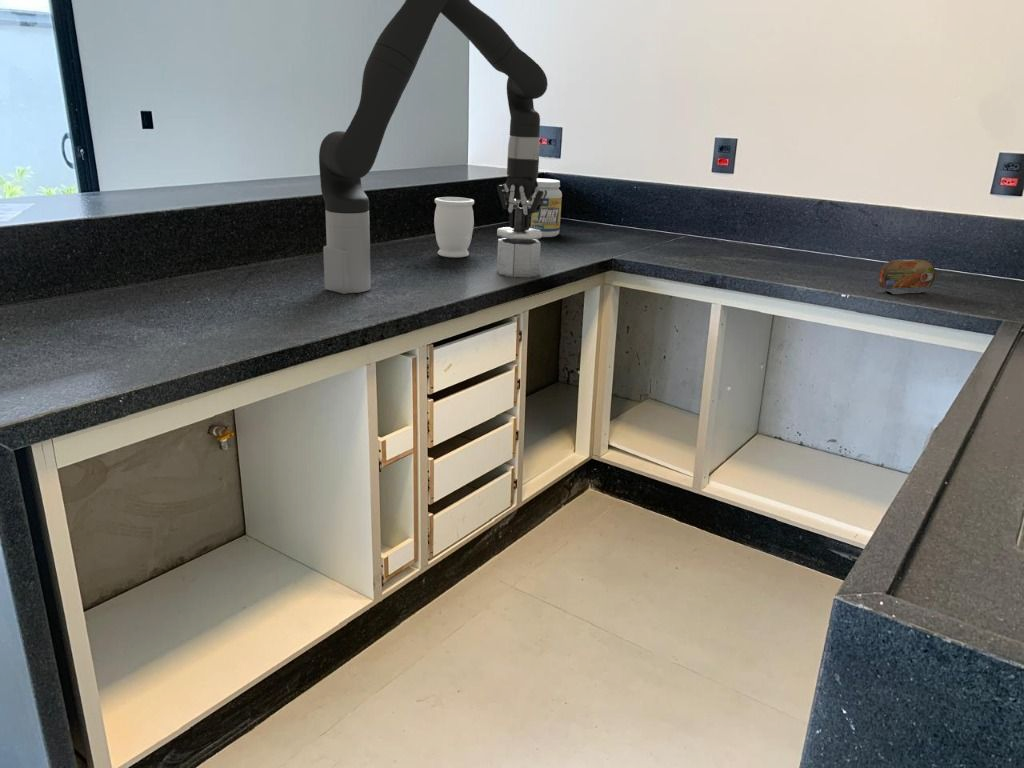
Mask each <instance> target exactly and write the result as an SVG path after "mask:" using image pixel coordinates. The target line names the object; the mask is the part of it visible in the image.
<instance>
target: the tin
mask: <svg viewBox="0 0 1024 768" xmlns="http://www.w3.org/2000/svg"><path fill="white" fill-rule="evenodd" d="M935 278H936V267H935V266H934V264H933V263H932V262H931V261H929V260H926V259H900V260H899V259H895V260H894V259H893V260H890V261H888V262H886V263H885V264H884V265H883V266H882V267H881V269H880V271H879V275H878V285H879V287H880V288H881V287H882V288H885V289H892V288H913V287H930V288H931V287H932V285H933V284H934V281H935V280H936V279H935Z"/></svg>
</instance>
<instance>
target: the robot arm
mask: <svg viewBox="0 0 1024 768" xmlns="http://www.w3.org/2000/svg"><path fill="white" fill-rule="evenodd" d="M440 14H442V16H444V17H445V18H446V19H447V20H448V21H450V23H451V24H453V26H455V27H456V28H457V29H458V30H459V31H460V32H461V33H462V35H464V36H465V37H466V38H467V39H468V40H469V42H470V43H471V44H472V45H473V46H474V47H475V48H476V49H477V51H478V52H479V53H480V54H481V55H482V56H483V57H484V58H485V60H486V61H487V62H488V63H489V65H491V67H493V68H494V69H495V70H496V71H498V72H499V73H502V74H504V75H506V76H507V80H506V81H507V82H506V95H507V102H508V103H507V104H508V109H509V114H510V119H509V120H510V121H509V122H510V124H509V138H508V145H507V164H506V166H507V167H506V176H507V179H506V181H505V183H503V184H498V185H496V190H497V192H498V197H499V199H500V203H501V207H502V209H503V210H506V211H508V214H509V215H508V225H509V227H510V228H514V211H515V207H520V206H519V205H520V203H521V206H522V207H523V213H524V215H523V219H522V230H529V228H530V227H531V216H532V214H533V213H537V212H539V210H540V208H541V206H542V203H543V201H544V199H545V197H546V194H547V191H546V190H542V189H541V188H539V187H538V183H537V178H539V177H538V176H539V165H540V151H541V150H540V146H541V145H540V127H541V126H540V125H541V116H540V113H539V112H538V111H536V110H535V107H534V100H536V99H539V98H541V97H543V96H544V94H545V93H546V92H547V89H548V86H549V85H548V78H547V75H546V73H545V71H544V70H543V68H542V67H541V66H540V65H539V64H538V63H537V62H536V61H535V60H534V59H533V58H532V57H530V56H529V54H527V53H526V52H524V51H523V50H522V49H520V47H518V45H517V44H516V43H515V41H514V40H513V39H512V38H511V37H510V36H509V35H508V33H507V32H506V31H505V30H504V29H503V27H502V26H501V25H500V24H499V23H498V22H497V21H496V20H495V19H493V18H492V17H491V16H490V15H489V14H487V13H486V12H484V11H483V10H481V9H480V8H479V7H478V6H476V5H475V4H474V3H473V2H471V1H470V0H405V1H404V3H403V4H402V5H401V7H400V9H399V10H398V11H397V12H396V13H395V15H394V16H393V17H392V18H391V19H390V21H389V22H388V24H387V25H386V26H385V28H383V30H382V31H381V33H380V34H379V36H378V38H377V39H376V41H375V43H374V46H373V48H372V50H371V52H370V54H369V56H368V58H367V61H366V63H365V65H364V68H363V75H362V82H361V94H360V99H359V104H358V106H357V110H356V111H355V114H354V116H353V118H352V120H351V122H350V123H349V125H348V127H347V128H346V130H345V131H344V130H343V131H341V130H337V131H333V132H330V133H328V134H327V135H326V136H325V137H324V138H323V139H322V141H321V143H320V146H319V150H318V151H319V152H318V159H319V160H318V164H319V177H320V178H319V179H320V189H321V196H322V198H323V200H324V205H325V208H324V209H325V230H326V231H325V233H326V236H325V237H326V245H324V246H323V249H322V251H323V253H322V254H323V273H324V274H323V276H324V277H323V278H324V289H325V290H327V291H331V292H335V293H339V294H344V295H345V294H355V293H357V294H358V293H364V292H367V291H370V289H371V288H372V287H371V286H372V285H371V237H370V235H371V234H370V199H369V197H368V196H367V194H366V193H365V191H364V189H363V185H362V178H364V177H365V176H366V175H368V173H369V172H370V171H371V169H372V168H373V166H374V164H375V162H376V159H377V157H378V154H379V151H380V148H381V145H382V142H383V139H384V136H385V134H386V130H387V128H388V126H389V123H390V120H391V118H392V117H393V114H394V113H395V110H396V109H397V106H398V105H399V102H400V99H401V98H402V95H403V94H404V92H405V90H406V89H407V88H406V87H407V86H408V83H409V82H410V80H411V78H412V76H413V74H414V72H415V69H416V67H417V65H418V62H419V59H420V57H421V55H422V53H423V50H424V49H425V46H426V45H427V43H428V39H429V37H430V35H431V33H432V32H433V31H432V30H433V28H434V25H435V24H436V22H437V19H438V18H439V16H440ZM534 193H535V196H536V197H535V199H534V201H533V194H534ZM527 200H528V201H527Z"/></svg>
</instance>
